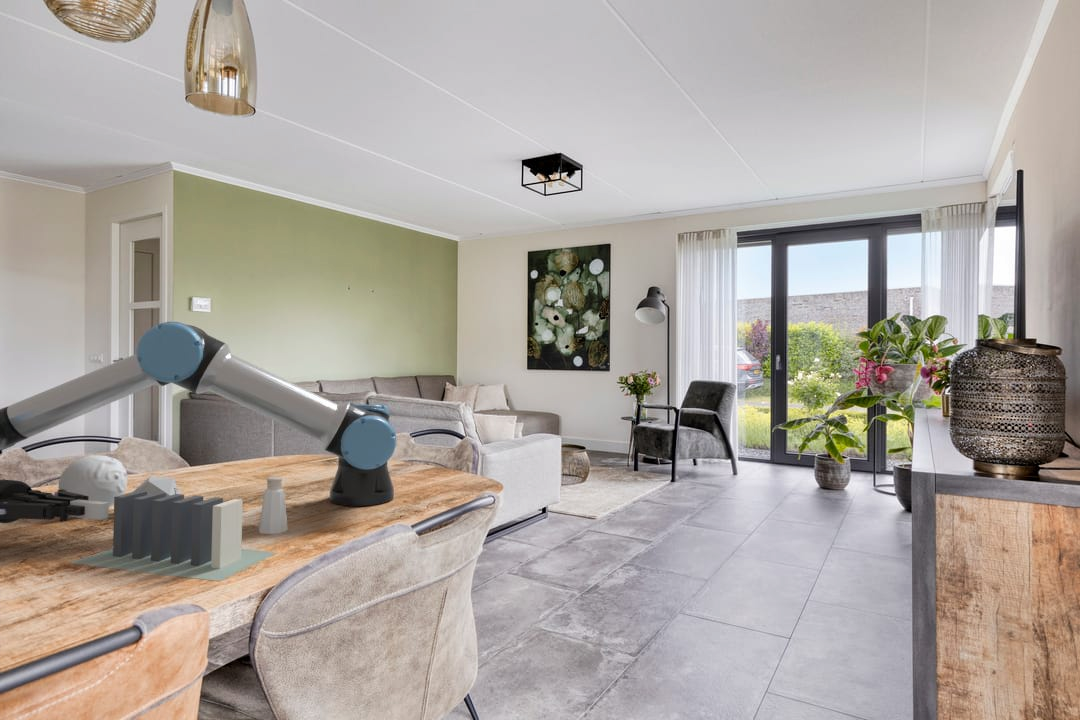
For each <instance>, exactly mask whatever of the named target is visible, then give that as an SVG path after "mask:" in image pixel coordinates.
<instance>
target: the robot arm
mask: <svg viewBox="0 0 1080 720" xmlns="http://www.w3.org/2000/svg"><path fill="white" fill-rule="evenodd" d="M168 384H173V385H177V386H178V387H180V388H182V389H186V390H187V391H190V392H192V393H194V394H197V395H199V394H204V393H207V392H211V393H214V394H216V395H218V396H220V397H223V398H224V399H226V400H229V401H231V402H234V403H235V404H237V405H240V406H242V407H245V408H247V409H250V410H251V411H254V412H256V413H258V414H260V415H262V416H265V417H267V418H269V419H271V420H274V421H276V422H278V423H280V424H283V425H285V426H287V427H290V428H292V429H294V430H296V431H298V432H300V433H302V434H303V433H304V434H306V435H308V436H310V437H312V438H314V439H316V440H319V441H320V444H321V447H322V450H324V451H326V452H328V453H330V454H333V455H335V456H336V457H338V461H337V470H336V473H335V475H334V478H333V481H332V484H331V486H330V490H329V501H330V502H331V503H333V504H337V505H341V506H354V507H355V506H357V507H358V506H373V505H379V504H384V503H385V504H386V503H387V502H390V501H392V500H393V499H394V496H395V495H394V494H395V489H394V486H393V485H394V484H393V480H392V478H391V475H390V471H389V468H388V467H389V466H388V461H389V460H390V459H391V458H392V456H393V454H394V452H395V449H396V448H397V447H396V446H397V434H396V430H395V429H394V426H393V425H392V424H391V423H390V422H389V421H390V420H389V419H390V416H391V415H390V409H389V407H388V406H387V405H384V404H354V403H352V402H351V401H346V402H343V403H340V404H338V403H336V402H334V401H332V400H329V399H328V398H326V397H323V396H320V395H318V393H317V394H316V393H315V392H312V391H311V390H308V389H306V388H304V387H302V386H300V385H297V384H295V383H293V382H291V381H289V380H287V379H285V378H283V377H281V376H278V375H276V374H275V373H272V372H270V371H268V370H266V369H263V368H261V367H259V366H257V365H255V364H252V363H251V362H248V361H247V360H244V359H242V358H240V357H238V356H236V355H234V354H232V353H231V349H230V348H229V344H227V343H225V342H223V341H221V340H219V339H217V338H215V337H213V336H211V335H209V334H208V333H206V332H205V330H203V329H201V328H199V327H197V326H194V325H191V324H185V323H182V322H179V321H165V322H162V323H159V324H156V325H154V326H151V327H150V328H148V329H147V330H146V331H145V332H144V333H143V334H142V335H141V336H140V338H139V340H138V343H137V344H136V352H135V353H134V354H133V355H130V356H128V357H125V358H123V359H120V360H118V361H116V362H113V363H110V364H108V365H106V366H103V367H101V368H99V369H96V370H94V371H91V372H89V373H86V374H83V375H81V376H78V377H77V378H74V379H72V380H69V381H67V382H63V383H62V384H59V385H57V386H55V387H52V388H50V389H47V390H44V391H42V392H39V393H38V394H34V395H32V396H29V397H27V398H25V399H22V400H20V401H18V402H15V403H12V404H10V405H8V406H5V407H1V408H0V451H3V450H5V449H9V448H11V447H14V445H16V444H17V443H20V442H22V441H25V440H27V439H28V438H32V437H33V436H35V435H36V436H37V434H41V433H42V432H43V433H44V432H45V431H48V430H50V429H52V428H56V427H57V426H59V425H61V424H64V423H67V422H69V421H72V420H75V419H76V418H78V417H81V416H84V415H85V414H89V413H90V412H92V411H95V410H98V409H100V408H103V407H105V406H108V405H110V404H112V403H115V402H117V401H119V400H121V399H124V398H127V397H129V396H131V395H133V394H136V393H138V392H140V391H143V390H145V389H147V388H149V387H152V386H160V387H163V386H166V385H168ZM109 508H110V506H109V502H101V501H90V500H89V496H85V495H82V494H76V493H71V492H67V491H66V490H63V489H60V490H59V489H58V490H57V491H54V494H53V493H52V492H45V491H41V490H40V489H39V490H38V489H32V488H31V486H30V485H29V484H27V483H26V482H24V481H21V480H13V479H3V478H0V524H11V523H14V522H17V521H18V520H47V521H50V520H51V521H52V520H54V519H55V518H59V522H61V523H62V522H67V521H68V520H69V517H70V518H76V519H77V518H80V519H87V520H88V519H89V520H97V521H98V520H99V521H102V520H105V519H108V518H109V516H110V515H109V513H110V511H109Z"/></svg>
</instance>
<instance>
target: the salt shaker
mask: <svg viewBox="0 0 1080 720" xmlns="http://www.w3.org/2000/svg"><path fill="white" fill-rule="evenodd" d="M266 481H267V486H266V487H267V488H266V489H265V490H264V491H263V498H262V503H261V510H260V512H261V513H260V517H259V518H260V520H259V526H258V531H259V533H260V534H267V535H273V534H281V533H284V532H286V531H288V520H287V507H286V505H287V504H286V494H285V489H284V488H282V485H283V483H282V482H283V477H282V476H280V475H272V476H269V477H267V478H266Z"/></svg>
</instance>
